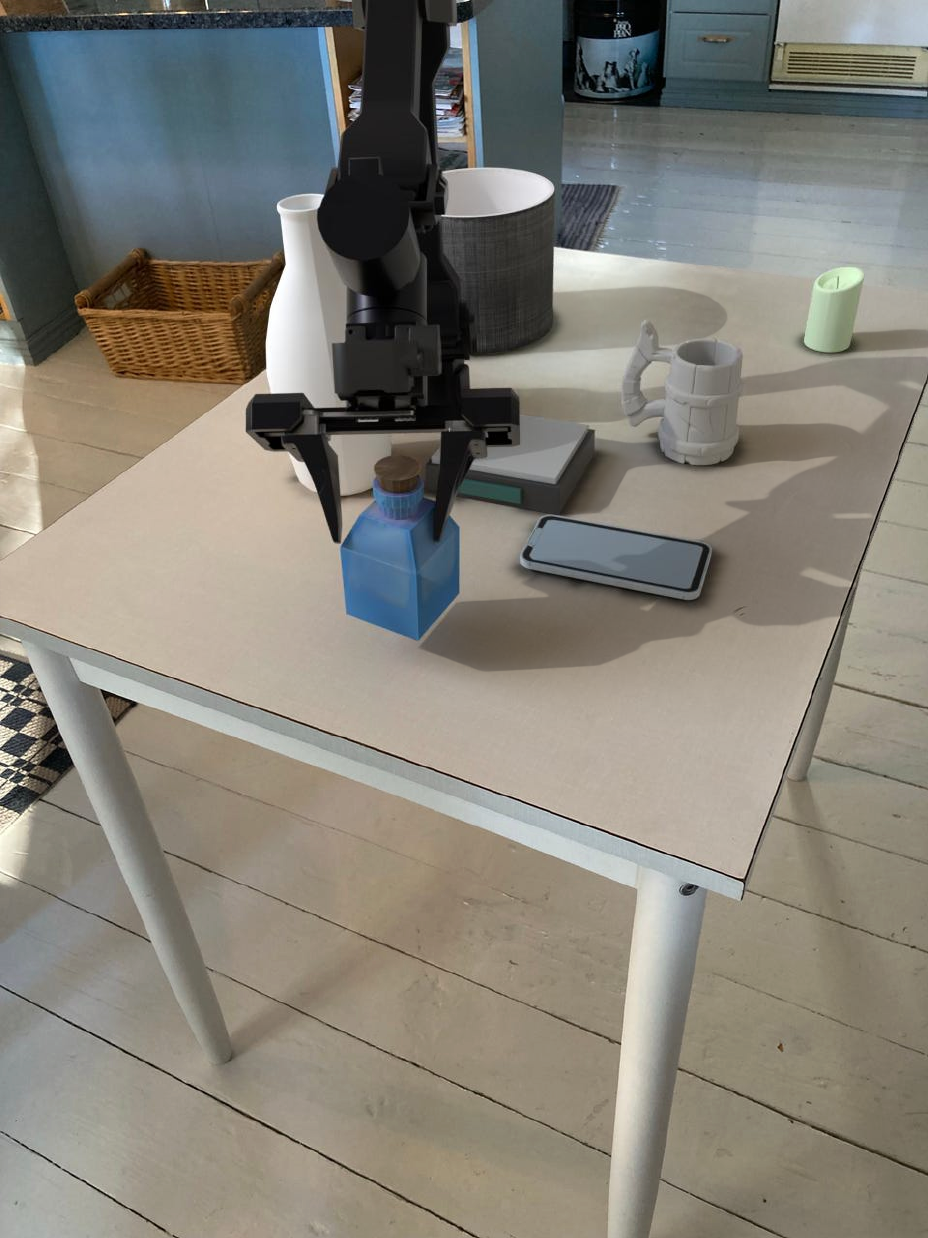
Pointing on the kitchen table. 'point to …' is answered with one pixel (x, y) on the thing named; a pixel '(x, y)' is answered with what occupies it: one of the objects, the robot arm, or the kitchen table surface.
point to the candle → (833, 309)
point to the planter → (502, 252)
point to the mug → (688, 396)
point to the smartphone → (617, 556)
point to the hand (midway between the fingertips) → (386, 542)
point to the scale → (528, 467)
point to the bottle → (314, 339)
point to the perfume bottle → (400, 555)
